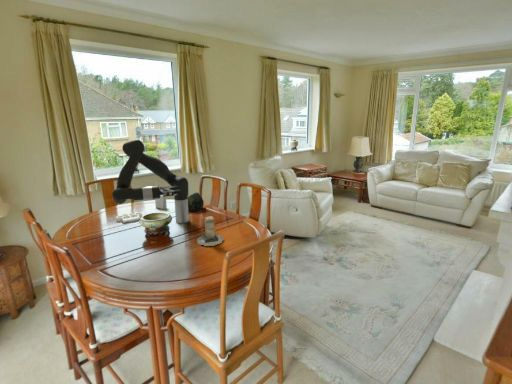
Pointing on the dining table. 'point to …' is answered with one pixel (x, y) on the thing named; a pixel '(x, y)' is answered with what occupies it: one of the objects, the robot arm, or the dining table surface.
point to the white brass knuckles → (129, 217)
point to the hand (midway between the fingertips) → (179, 189)
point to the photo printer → (161, 202)
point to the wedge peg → (209, 227)
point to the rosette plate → (209, 240)
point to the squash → (195, 202)
